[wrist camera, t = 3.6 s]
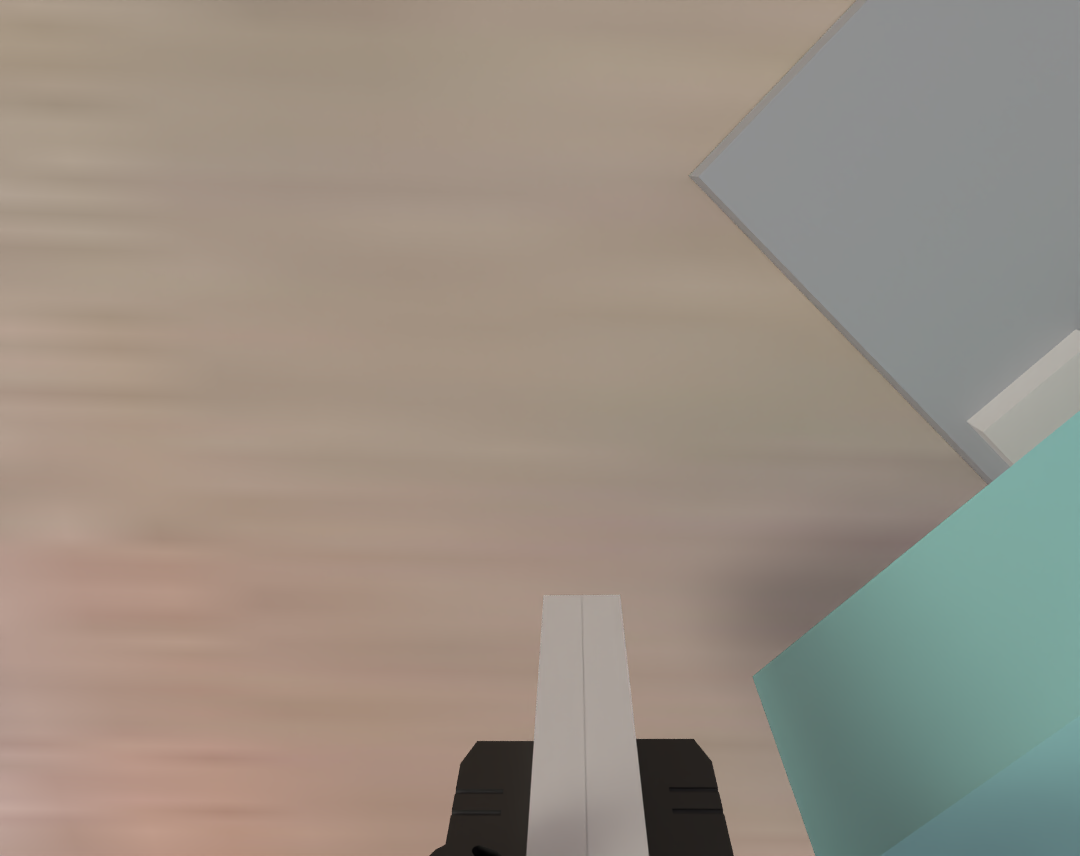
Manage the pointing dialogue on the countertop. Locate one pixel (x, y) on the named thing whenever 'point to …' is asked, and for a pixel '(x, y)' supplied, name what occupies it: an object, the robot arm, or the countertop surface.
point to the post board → (931, 206)
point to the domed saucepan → (949, 684)
